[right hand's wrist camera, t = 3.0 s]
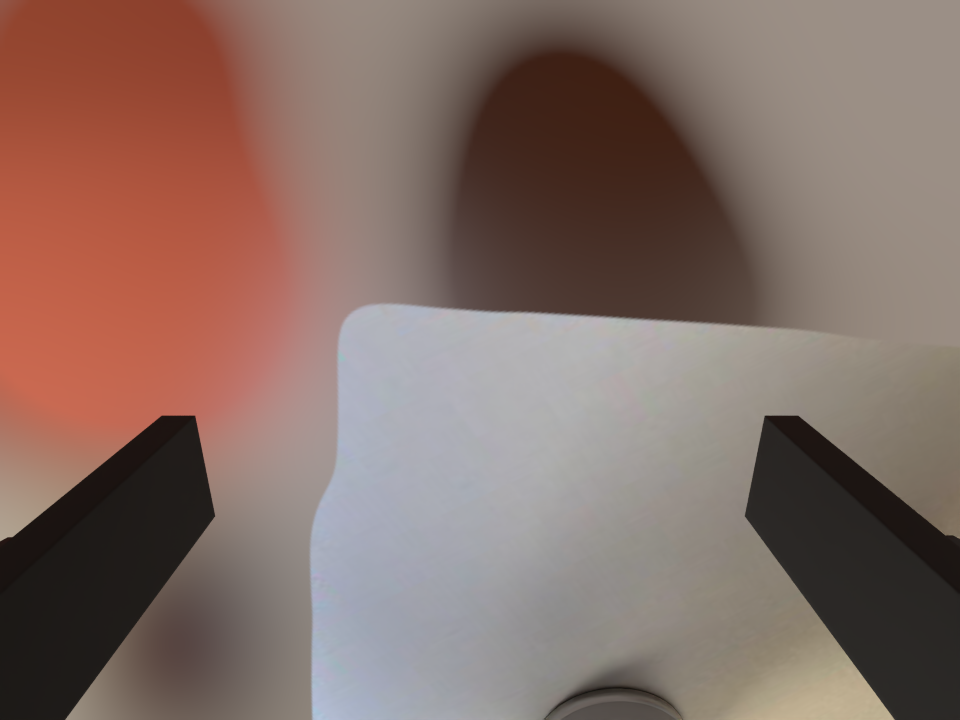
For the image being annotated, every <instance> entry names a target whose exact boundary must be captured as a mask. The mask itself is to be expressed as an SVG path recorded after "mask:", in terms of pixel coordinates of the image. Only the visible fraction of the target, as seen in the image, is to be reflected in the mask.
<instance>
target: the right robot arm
mask: <svg viewBox="0 0 960 720" xmlns="http://www.w3.org/2000/svg"><path fill="white" fill-rule="evenodd" d="M214 517H215V513H214V508H213V503H212V498H211V493H210V488H209V483H208V478H207V473H206V468H205V463H204V458H203V453H202V448H201V443H200V438H199V433H198V428H197V423H196V418H195V416H161V417H160V418H158V419H157V420H156V421H155V422H154V423H152V424H151V425H150V426H149V427H147V428H146V429H145V430H144V431H142V432H141V433H140V434H139V435H138V436H136V437H135V438H134V439H133V440H132V441H130V442H129V443H128V444H126V445H125V446H124V447H123V448H122V449H120V450H119V451H118V452H117V453H115V454H114V455H113V456H112V457H111V458H109V459H108V460H107V461H106V462H104V463H103V464H102V465H101V466H99V467H98V468H97V469H96V470H95V471H93V472H92V473H91V474H90V475H88V476H87V477H86V478H85V479H84V480H82V481H81V482H80V483H79V484H77V485H76V486H75V487H74V488H72V489H71V490H70V491H69V492H68V493H66V494H65V495H64V496H63V497H61V498H60V499H59V500H58V501H57V502H55V503H54V504H53V505H52V506H50V507H49V508H48V509H47V510H46V511H44V512H43V513H42V514H41V515H39V516H38V517H37V518H36V519H34V520H33V521H32V522H31V523H29V524H28V525H27V526H26V527H25V528H23V529H22V530H21V531H20V532H18V533H17V534H16V535H15V536H14V537H8V538H6V539H4V540H2V541H0V720H65V719H66V718H67V716H68V715H69V714H70V712H71V711H72V710H73V708H74V707H75V706H76V704H77V703H78V702H79V700H80V699H81V697H82V696H83V695H84V693H85V692H86V691H87V689H88V688H89V687H90V685H91V684H92V683H93V681H94V680H95V678H96V677H97V676H98V674H99V673H100V672H101V670H102V669H103V668H104V666H105V665H106V664H107V662H108V661H109V659H110V658H111V657H112V655H113V654H114V653H115V651H116V650H117V649H118V647H119V646H120V645H121V643H122V642H123V640H124V639H125V638H126V636H127V635H128V634H129V632H130V631H131V630H132V628H133V627H134V626H135V624H136V623H137V621H138V620H139V619H140V617H141V616H142V615H143V613H144V612H145V611H146V609H147V608H148V606H149V605H150V604H151V602H152V601H153V600H154V598H155V597H156V596H157V594H158V593H159V592H160V590H161V589H162V588H163V586H164V585H165V583H166V582H167V581H168V579H169V578H170V577H171V575H172V574H173V573H174V571H175V570H176V569H177V567H178V566H179V564H180V563H181V562H182V560H183V559H184V558H185V556H186V555H187V554H188V552H189V551H190V550H191V548H192V547H193V546H194V544H195V543H196V541H197V540H198V539H199V537H200V536H201V535H202V533H203V532H204V531H205V529H206V528H207V526H208V525H209V524H210V522H211V521H212V520H213V518H214ZM745 517H746V518H747V520H748V521H749V522H750V524H751V525H752V527H753V528H754V529H755V531H756V532H757V533H758V535H759V536H760V537H761V539H762V540H763V541H764V543H765V544H766V546H767V547H768V548H769V550H770V551H771V552H772V554H773V555H774V556H775V558H776V559H777V560H778V562H779V563H780V565H781V566H782V567H783V569H784V570H785V571H786V573H787V574H788V575H789V577H790V578H791V579H792V581H793V582H794V584H795V585H796V586H797V588H798V589H799V590H800V592H801V593H802V594H803V596H804V597H805V598H806V600H807V601H808V602H809V604H810V605H811V607H812V608H813V609H814V611H815V612H816V613H817V615H818V616H819V617H820V619H821V620H822V621H823V623H824V624H825V626H826V627H827V628H828V630H829V631H830V632H831V634H832V635H833V636H834V638H835V639H836V640H837V642H838V643H839V645H840V646H841V647H842V649H843V650H844V651H845V653H846V654H847V655H848V657H849V658H850V659H851V661H852V662H853V664H854V665H855V666H856V668H857V669H858V670H859V672H860V673H861V674H862V676H863V677H864V678H865V680H866V681H867V683H868V684H869V685H870V687H871V688H872V689H873V691H874V692H875V693H876V695H877V696H878V697H879V699H880V700H881V702H882V703H883V704H884V706H885V707H886V708H887V710H888V711H889V712H890V714H891V715H892V716H893V718H894V719H895V720H960V539H959V538H957V537H955V536H953V535H944V534H943V533H942V532H940V531H939V530H938V529H937V528H935V527H934V526H933V525H932V524H931V523H929V522H928V521H927V520H926V519H924V518H923V517H922V516H921V515H919V514H918V513H917V512H916V511H915V510H913V509H912V508H911V507H910V506H908V505H907V504H906V503H905V502H904V501H902V500H901V499H900V498H899V497H897V496H896V495H895V494H894V493H892V492H891V491H890V490H889V489H888V488H886V487H885V486H884V485H883V484H881V483H880V482H879V481H878V480H876V479H875V478H874V477H873V476H872V475H870V474H869V473H868V472H867V471H865V470H864V469H863V468H862V467H861V466H859V465H858V464H857V463H856V462H854V461H853V460H852V459H851V458H849V457H848V456H847V455H846V454H845V453H843V452H842V451H841V450H840V449H838V448H837V447H836V446H835V445H834V444H832V443H831V442H830V441H829V440H827V439H826V438H825V437H824V436H822V435H821V434H820V433H819V432H818V431H816V430H815V429H814V428H813V427H811V426H810V425H809V424H808V423H806V422H805V421H804V420H803V419H802V418H800V417H799V416H765V418H764V423H763V428H762V433H761V438H760V443H759V448H758V453H757V458H756V463H755V468H754V473H753V478H752V483H751V488H750V493H749V498H748V503H747V508H746V513H745ZM545 720H682V718H681V717H680V715H679V714H678V712H677V711H676V710H675V709H674V708H673V707H672V706H671V705H669V704H668V703H667V702H665V701H664V700H662V699H660V698H658V697H656V696H654V695H652V694H649V693H646V692H642V691H638V690H633V689H621V688H614V689H602V690H596V691H592V692H588V693H585V694H582V695H579V696H576V697H574V698H572V699H570V700H568V701H566V702H565V703H563V704H561V705H560V706H559V707H557V708H556V709H555V710H554V711H553V712H551V713H550V714H549V716H548V717H547V718H546V719H545Z"/></svg>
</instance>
